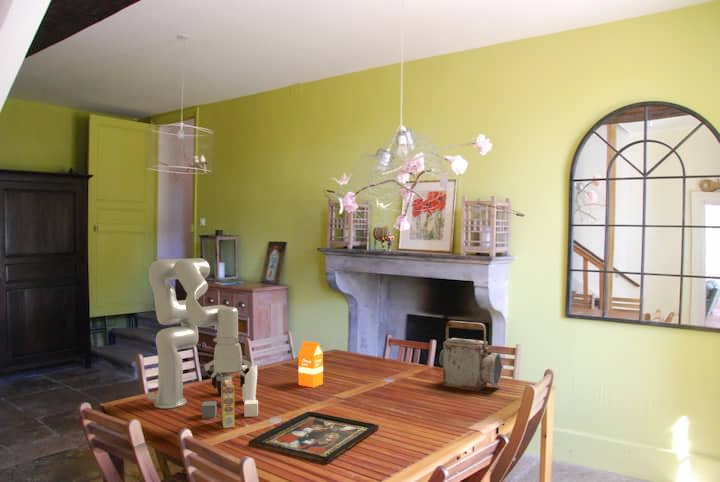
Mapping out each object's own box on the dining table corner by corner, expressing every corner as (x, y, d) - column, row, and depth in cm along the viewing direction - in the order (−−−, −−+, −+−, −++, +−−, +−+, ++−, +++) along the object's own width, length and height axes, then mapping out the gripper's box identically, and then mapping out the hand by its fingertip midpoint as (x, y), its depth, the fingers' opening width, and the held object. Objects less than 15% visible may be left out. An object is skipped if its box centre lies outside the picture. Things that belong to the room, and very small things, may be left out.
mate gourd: (235, 394, 239) (235, 360, 239) (219, 397, 233) (219, 363, 233) (226, 390, 244) (226, 357, 244) (211, 394, 239) (211, 360, 238)
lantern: (493, 394, 240) (493, 326, 240) (436, 385, 254) (436, 321, 254) (502, 385, 254) (503, 322, 254) (448, 378, 268) (448, 317, 267)
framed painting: (298, 415, 212) (298, 407, 212) (382, 428, 199) (382, 420, 199) (241, 451, 177) (241, 442, 177) (339, 470, 164) (339, 461, 164)
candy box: (234, 427, 197) (234, 385, 197) (222, 428, 196) (223, 386, 196) (231, 419, 206) (232, 379, 206) (220, 420, 204) (220, 380, 204)
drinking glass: (253, 404, 224) (253, 368, 224) (238, 403, 226) (238, 367, 226) (259, 399, 231) (259, 364, 231) (244, 398, 232) (244, 363, 232)
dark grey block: (201, 418, 207) (201, 405, 207) (203, 414, 212) (203, 401, 212) (215, 418, 207) (215, 405, 207) (216, 414, 212) (216, 401, 212)
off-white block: (244, 417, 209) (244, 404, 209) (245, 412, 214) (245, 400, 214) (257, 416, 210) (257, 403, 210) (258, 412, 215) (258, 399, 214)
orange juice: (313, 387, 250) (313, 344, 250) (298, 384, 255) (298, 342, 255) (323, 383, 257) (323, 341, 257) (308, 381, 261) (308, 339, 261)
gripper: (202, 343, 196) (203, 390, 195) (251, 341, 198) (251, 388, 198) (205, 339, 203) (206, 385, 203) (252, 338, 205) (252, 383, 205)
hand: (228, 386), depth 200 cm, fingers open, 9 cm apart
